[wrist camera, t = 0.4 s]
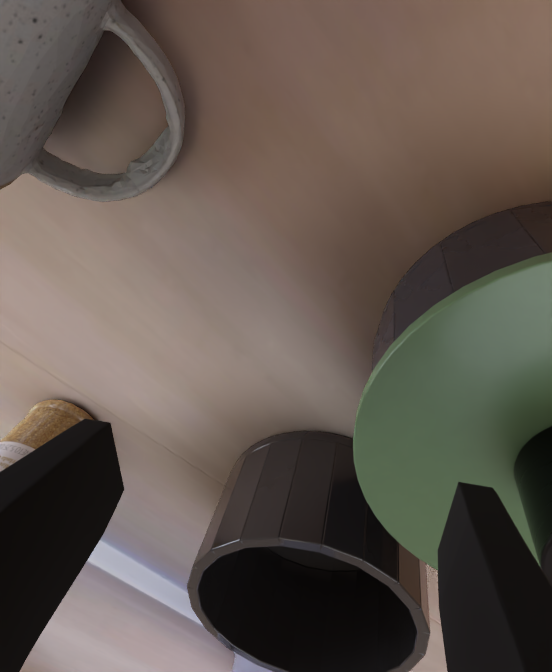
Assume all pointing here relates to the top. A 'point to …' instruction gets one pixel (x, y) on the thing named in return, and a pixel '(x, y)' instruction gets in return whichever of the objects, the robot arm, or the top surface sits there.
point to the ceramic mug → (58, 81)
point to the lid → (464, 412)
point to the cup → (308, 566)
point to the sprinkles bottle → (38, 429)
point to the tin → (464, 265)
